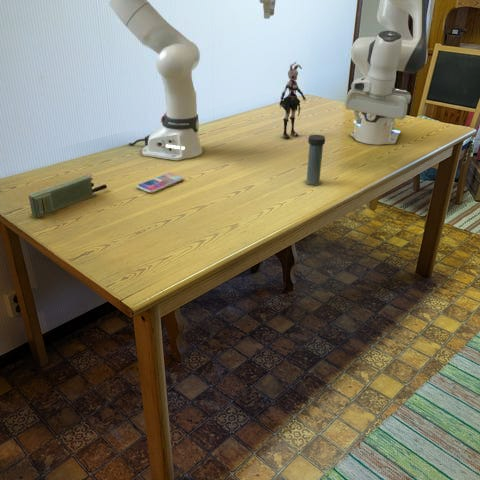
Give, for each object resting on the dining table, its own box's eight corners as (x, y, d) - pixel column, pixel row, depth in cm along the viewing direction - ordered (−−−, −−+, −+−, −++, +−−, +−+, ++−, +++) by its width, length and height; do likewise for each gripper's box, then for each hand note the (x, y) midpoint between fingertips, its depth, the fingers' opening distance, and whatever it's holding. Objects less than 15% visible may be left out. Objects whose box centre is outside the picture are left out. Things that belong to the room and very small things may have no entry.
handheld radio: (30, 215, 144) (102, 188, 161) (37, 219, 142) (109, 191, 159) (26, 193, 140) (100, 168, 157) (33, 197, 138) (107, 171, 155)
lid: (320, 139, 163) (320, 134, 162) (327, 144, 159) (328, 138, 158) (305, 141, 162) (306, 135, 161) (312, 146, 157) (313, 140, 157)
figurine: (282, 141, 203) (286, 63, 188) (271, 138, 207) (274, 61, 192) (306, 134, 212) (311, 59, 197) (295, 130, 215) (300, 57, 201)
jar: (315, 179, 169) (319, 135, 162) (321, 184, 166) (326, 139, 158) (304, 181, 168) (307, 137, 161) (309, 186, 165) (313, 141, 157)
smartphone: (184, 177, 167) (150, 191, 157) (184, 180, 167) (151, 194, 157) (168, 171, 171) (134, 185, 161) (168, 174, 171) (135, 188, 161)
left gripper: (265, -33, 165) (264, 13, 172) (255, -32, 148) (254, 20, 155) (284, -33, 164) (282, 14, 171) (276, -31, 147) (274, 20, 154)
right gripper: (414, 88, 162) (404, 129, 170) (352, 77, 170) (345, 117, 177) (410, 94, 158) (400, 135, 166) (347, 82, 165) (340, 123, 173)
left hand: (268, 16), depth 163 cm, fingers open, 8 cm apart
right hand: (371, 126), depth 172 cm, fingers open, 8 cm apart
